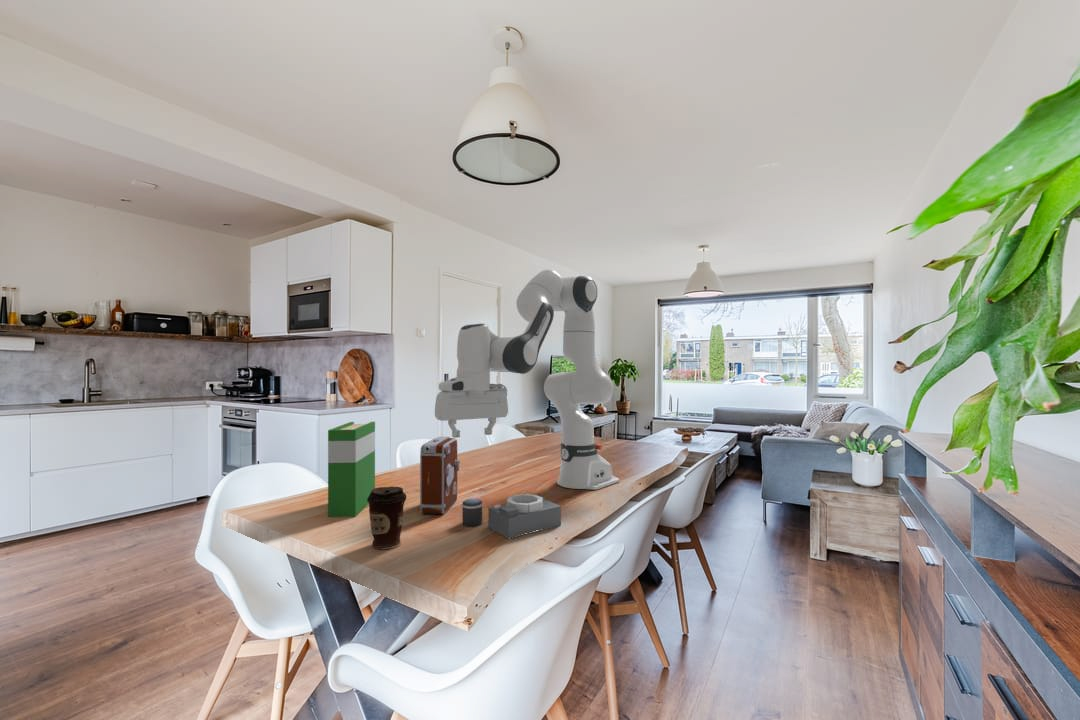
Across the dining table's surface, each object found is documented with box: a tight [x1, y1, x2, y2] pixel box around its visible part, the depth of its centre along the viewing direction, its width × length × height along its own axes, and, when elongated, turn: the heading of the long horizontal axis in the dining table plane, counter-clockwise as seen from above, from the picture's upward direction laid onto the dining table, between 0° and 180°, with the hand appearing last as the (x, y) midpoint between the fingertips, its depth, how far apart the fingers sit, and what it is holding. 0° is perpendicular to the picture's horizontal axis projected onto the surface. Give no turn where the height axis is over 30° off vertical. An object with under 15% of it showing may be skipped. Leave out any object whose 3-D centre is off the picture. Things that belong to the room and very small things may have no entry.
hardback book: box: [327, 421, 376, 518], centre depth 135 cm, size 18×7×24 cm, turn 3°
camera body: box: [487, 493, 562, 539], centre depth 119 cm, size 16×10×7 cm, turn 126°
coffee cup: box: [367, 486, 408, 550], centre depth 107 cm, size 9×8×13 cm
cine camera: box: [419, 436, 461, 515], centre depth 137 cm, size 9×19×20 cm, turn 174°
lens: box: [461, 498, 483, 528], centre depth 122 cm, size 5×5×6 cm
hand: (472, 435), depth 122 cm, fingers open, 8 cm apart
